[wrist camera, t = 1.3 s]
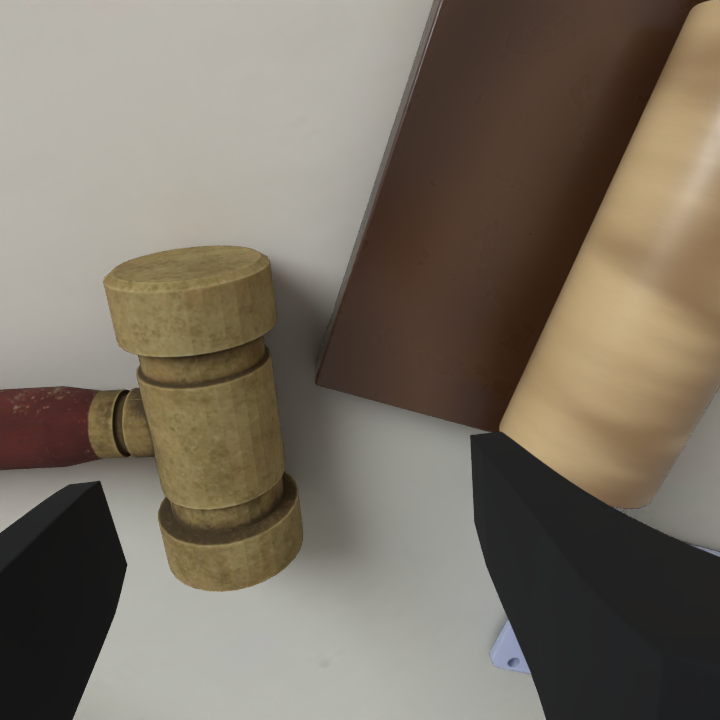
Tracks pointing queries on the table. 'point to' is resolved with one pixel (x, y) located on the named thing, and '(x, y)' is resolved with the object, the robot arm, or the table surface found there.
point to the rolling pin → (638, 298)
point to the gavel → (184, 413)
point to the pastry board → (489, 196)
